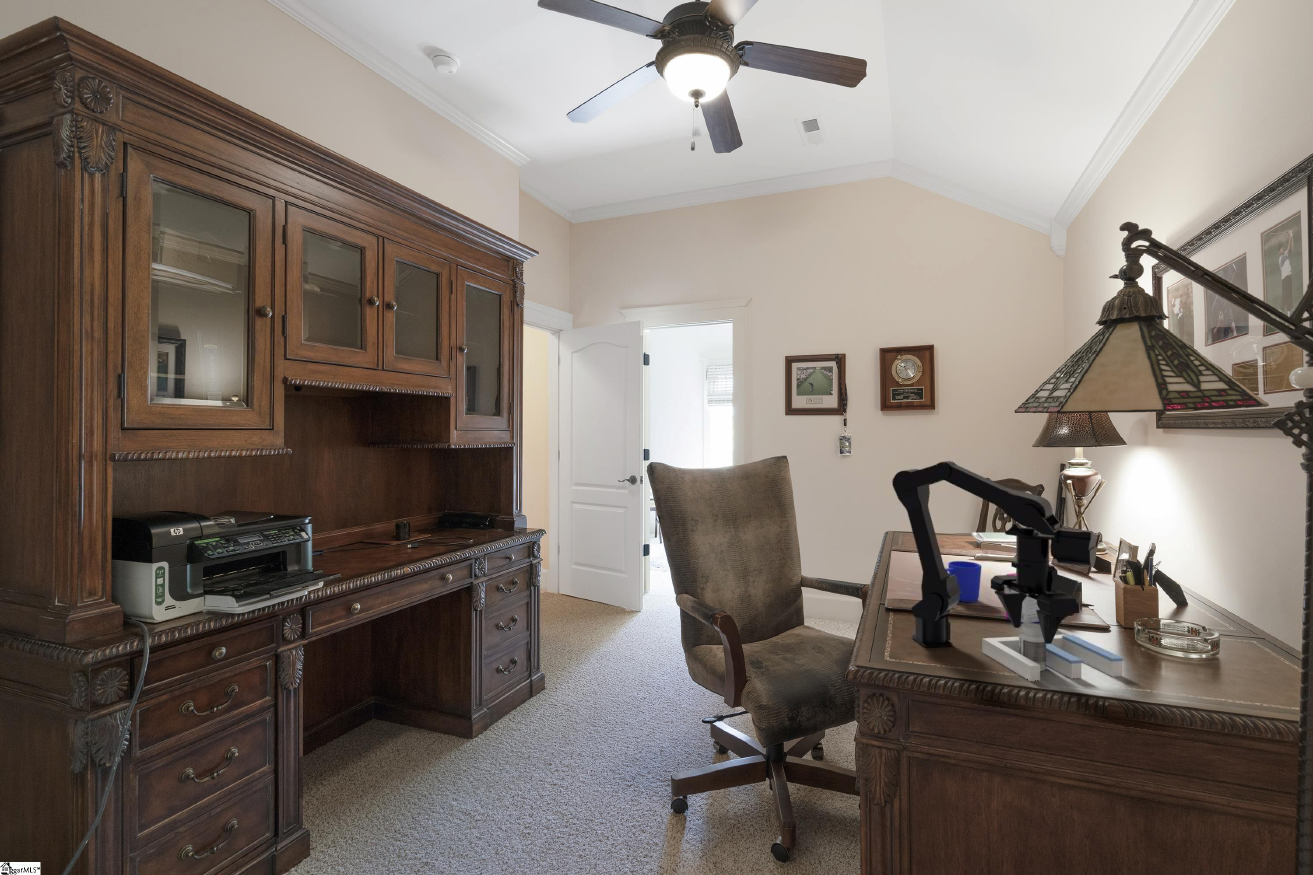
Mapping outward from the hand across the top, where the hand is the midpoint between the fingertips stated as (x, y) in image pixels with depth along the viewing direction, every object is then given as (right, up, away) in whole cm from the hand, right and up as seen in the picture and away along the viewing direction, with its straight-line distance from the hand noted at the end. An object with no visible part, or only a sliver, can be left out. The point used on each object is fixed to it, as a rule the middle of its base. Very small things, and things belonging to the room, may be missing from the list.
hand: (1031, 635), depth 126 cm
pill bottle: (0, -7, 0) cm, 7 cm away
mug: (+7, -5, +45) cm, 46 cm away
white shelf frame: (+4, -6, +1) cm, 8 cm away
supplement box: (+15, -6, +28) cm, 32 cm away
